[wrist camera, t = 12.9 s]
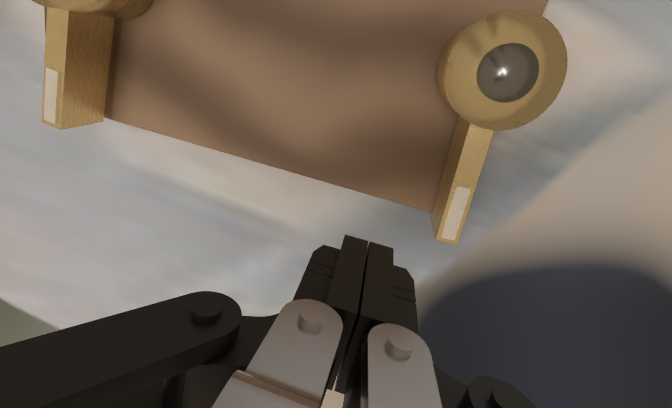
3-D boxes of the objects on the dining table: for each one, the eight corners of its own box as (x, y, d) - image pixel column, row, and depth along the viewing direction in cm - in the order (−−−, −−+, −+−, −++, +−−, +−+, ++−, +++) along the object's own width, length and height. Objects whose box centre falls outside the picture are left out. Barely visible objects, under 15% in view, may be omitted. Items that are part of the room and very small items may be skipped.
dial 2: (448, 14, 20) (466, -2, 15) (542, 30, 20) (593, 18, 15) (400, 207, 25) (401, 246, 19) (477, 223, 24) (499, 267, 19)
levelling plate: (57, -253, 20) (-36, -340, 16) (590, -124, 19) (648, -180, 14) (66, 99, 27) (3, 106, 23) (453, 211, 26) (465, 241, 22)
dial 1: (81, -93, 21) (-20, -143, 16) (163, -60, 21) (87, -100, 16) (67, 103, 26) (-17, 113, 20) (135, 130, 26) (68, 147, 20)
